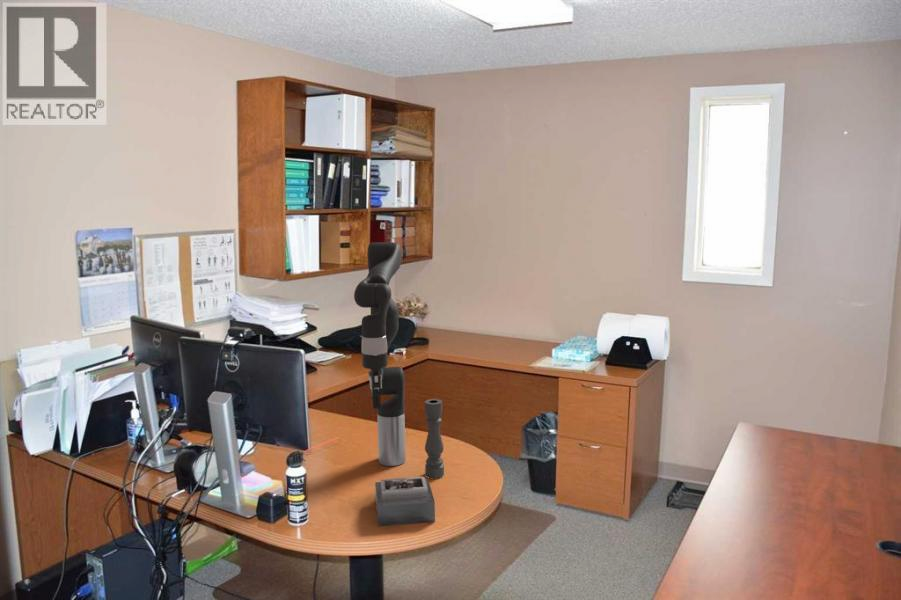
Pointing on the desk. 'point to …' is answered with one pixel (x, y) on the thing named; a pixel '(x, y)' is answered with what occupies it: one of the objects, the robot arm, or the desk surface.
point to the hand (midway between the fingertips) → (376, 403)
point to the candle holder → (434, 439)
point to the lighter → (401, 484)
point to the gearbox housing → (404, 502)
